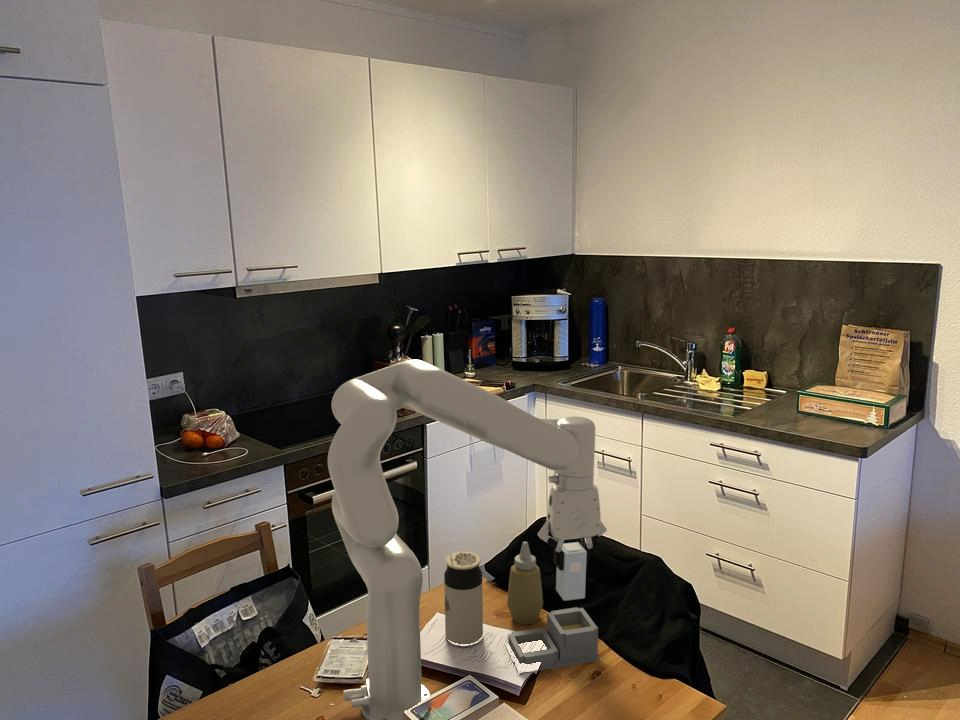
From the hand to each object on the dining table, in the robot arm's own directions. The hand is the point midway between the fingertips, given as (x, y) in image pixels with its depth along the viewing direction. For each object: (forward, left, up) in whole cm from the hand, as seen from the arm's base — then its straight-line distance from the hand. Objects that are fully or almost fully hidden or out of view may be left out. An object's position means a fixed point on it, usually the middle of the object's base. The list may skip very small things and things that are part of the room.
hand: (571, 565), depth 143 cm
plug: (0, 0, -6) cm, 6 cm away
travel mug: (-20, +10, -19) cm, 30 cm away
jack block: (-4, 0, -19) cm, 19 cm away
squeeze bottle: (-5, +14, -19) cm, 24 cm away
